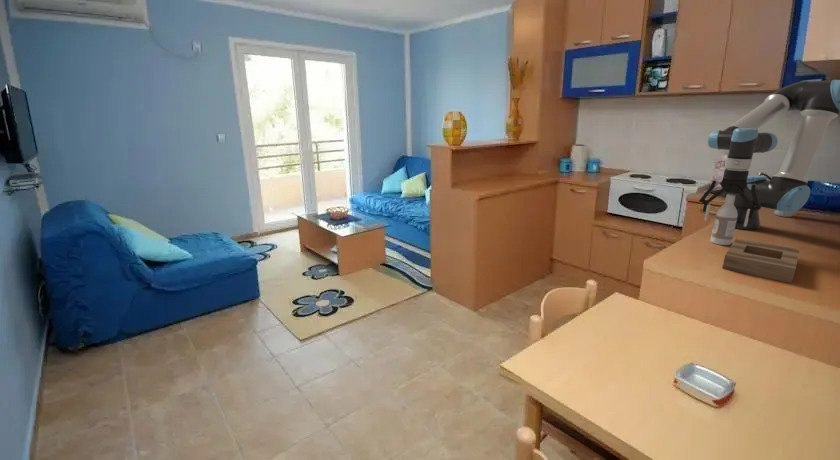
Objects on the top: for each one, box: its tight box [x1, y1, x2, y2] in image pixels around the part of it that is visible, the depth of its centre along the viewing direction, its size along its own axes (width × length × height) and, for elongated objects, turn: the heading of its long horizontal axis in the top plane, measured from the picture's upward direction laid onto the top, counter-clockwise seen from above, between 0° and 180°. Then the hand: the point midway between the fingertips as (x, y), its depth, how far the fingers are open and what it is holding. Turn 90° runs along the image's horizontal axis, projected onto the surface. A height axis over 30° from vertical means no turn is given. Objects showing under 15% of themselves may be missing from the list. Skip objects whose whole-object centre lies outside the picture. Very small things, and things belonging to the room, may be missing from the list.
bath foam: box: [709, 193, 738, 246], centre depth 162 cm, size 7×7×20 cm
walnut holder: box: [721, 238, 800, 284], centre depth 141 cm, size 24×18×5 cm
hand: (724, 222), depth 162 cm, fingers open, 12 cm apart
